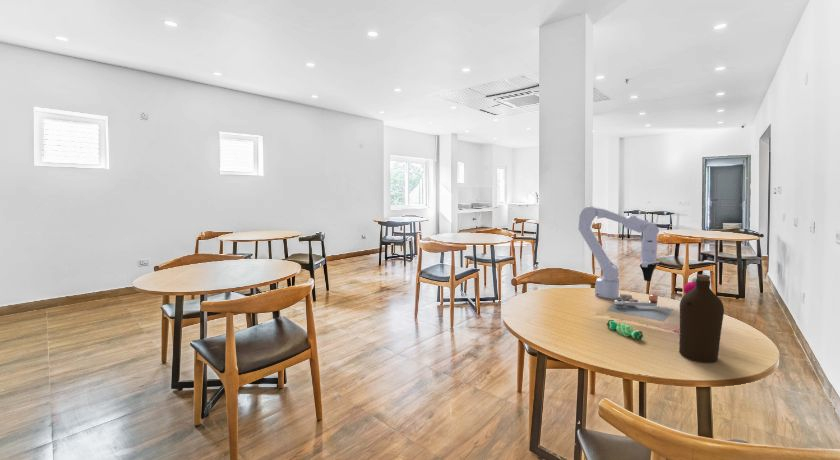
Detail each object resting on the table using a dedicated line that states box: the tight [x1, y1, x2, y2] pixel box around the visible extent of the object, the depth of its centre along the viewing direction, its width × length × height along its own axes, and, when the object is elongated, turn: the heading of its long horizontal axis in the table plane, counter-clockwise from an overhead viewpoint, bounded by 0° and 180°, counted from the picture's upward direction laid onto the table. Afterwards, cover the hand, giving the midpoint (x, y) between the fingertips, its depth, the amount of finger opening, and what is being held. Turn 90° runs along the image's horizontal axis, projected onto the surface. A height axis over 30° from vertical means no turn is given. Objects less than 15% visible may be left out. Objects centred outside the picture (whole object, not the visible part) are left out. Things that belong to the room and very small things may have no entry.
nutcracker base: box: [606, 293, 674, 322], centre depth 153 cm, size 20×18×5 cm
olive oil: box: [678, 273, 725, 364], centre depth 112 cm, size 11×11×25 cm
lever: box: [613, 293, 659, 307], centre depth 155 cm, size 16×4×4 cm, turn 82°
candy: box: [606, 319, 644, 342], centre depth 132 cm, size 12×3×4 cm
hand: (647, 280), depth 165 cm, fingers closed
